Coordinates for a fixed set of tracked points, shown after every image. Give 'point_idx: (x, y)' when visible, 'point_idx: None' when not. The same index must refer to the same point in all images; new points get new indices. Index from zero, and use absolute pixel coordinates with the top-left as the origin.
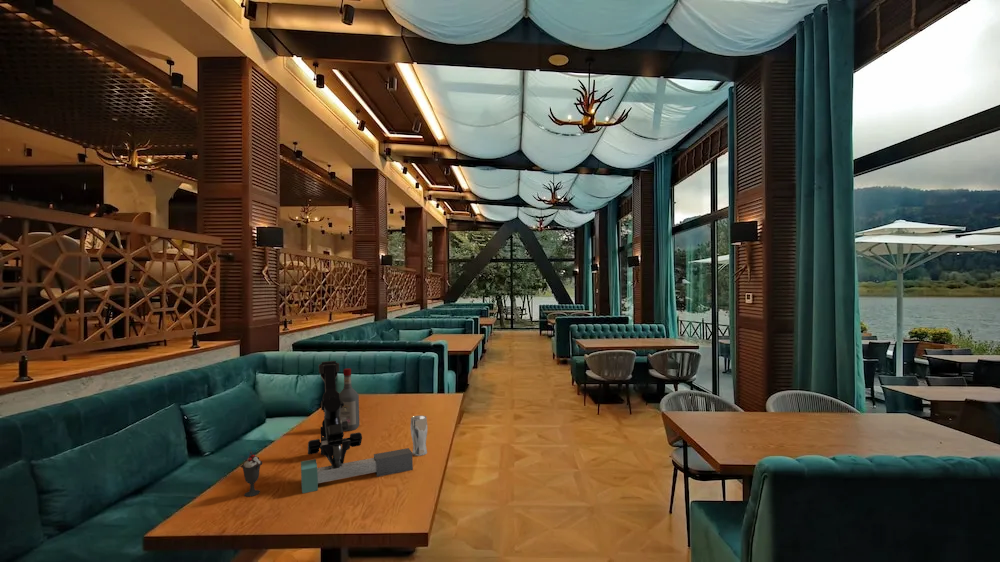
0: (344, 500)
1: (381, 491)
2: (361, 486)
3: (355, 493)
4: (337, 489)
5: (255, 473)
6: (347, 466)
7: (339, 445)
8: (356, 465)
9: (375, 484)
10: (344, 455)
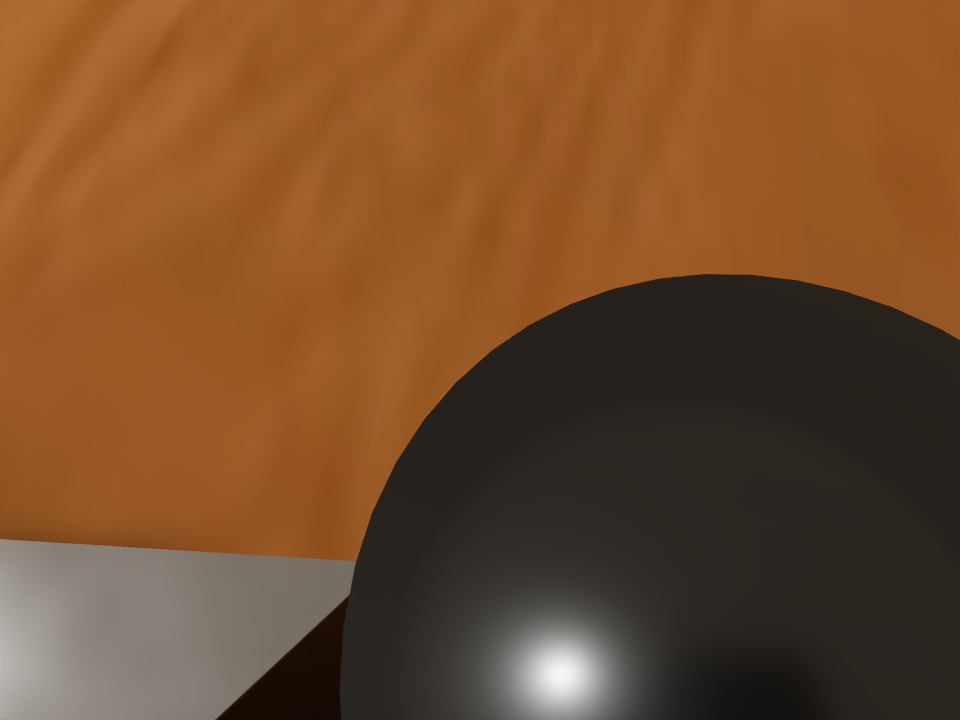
0: (516, 57)
1: (59, 49)
2: (207, 310)
3: (354, 151)
4: None
5: None
6: (288, 560)
7: (547, 506)
8: (46, 548)
9: (6, 268)
10: (274, 673)
